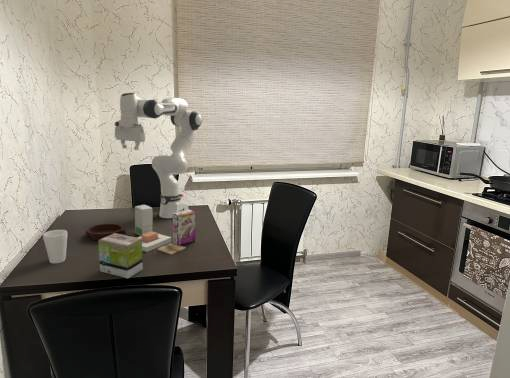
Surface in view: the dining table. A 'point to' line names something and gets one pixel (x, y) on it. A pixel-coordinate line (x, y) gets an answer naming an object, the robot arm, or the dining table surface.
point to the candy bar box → (184, 227)
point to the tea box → (120, 255)
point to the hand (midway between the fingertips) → (130, 149)
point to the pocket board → (156, 243)
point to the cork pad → (171, 248)
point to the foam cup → (56, 245)
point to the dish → (104, 230)
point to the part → (149, 237)
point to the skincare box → (143, 219)
